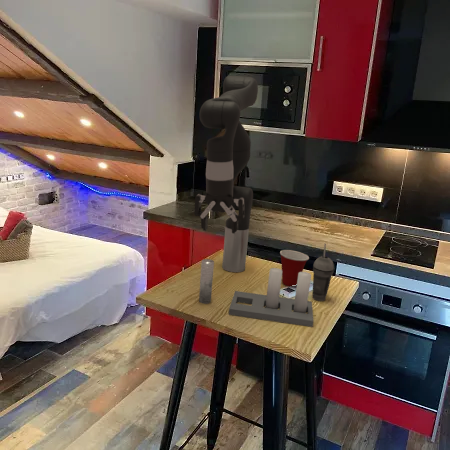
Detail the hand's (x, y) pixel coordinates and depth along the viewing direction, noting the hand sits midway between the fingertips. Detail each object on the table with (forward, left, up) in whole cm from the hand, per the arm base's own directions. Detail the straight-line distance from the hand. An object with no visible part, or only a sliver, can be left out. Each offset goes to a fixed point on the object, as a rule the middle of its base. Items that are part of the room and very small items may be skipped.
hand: (219, 231), depth 124 cm
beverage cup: (-26, +33, -28) cm, 51 cm away
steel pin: (-11, -5, -28) cm, 30 cm away
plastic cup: (-36, +23, -28) cm, 51 cm away
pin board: (-11, +17, -28) cm, 35 cm away
